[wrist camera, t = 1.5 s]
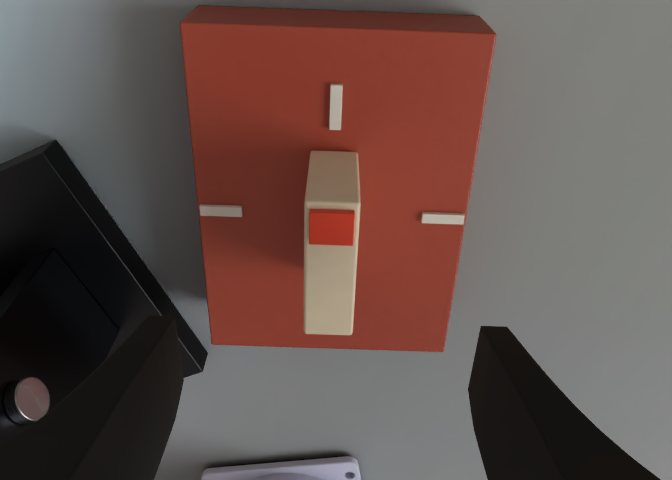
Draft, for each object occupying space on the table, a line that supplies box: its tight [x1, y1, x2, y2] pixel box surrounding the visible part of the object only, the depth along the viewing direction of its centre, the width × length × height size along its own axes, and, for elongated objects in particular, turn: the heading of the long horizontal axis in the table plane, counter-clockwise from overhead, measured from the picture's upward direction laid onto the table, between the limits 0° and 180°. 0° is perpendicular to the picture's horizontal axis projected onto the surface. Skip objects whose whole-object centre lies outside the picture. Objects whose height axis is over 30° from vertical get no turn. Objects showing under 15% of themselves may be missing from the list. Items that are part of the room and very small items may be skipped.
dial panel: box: [180, 6, 496, 352], centre depth 21 cm, size 12×9×3 cm
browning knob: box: [304, 151, 361, 335], centre depth 19 cm, size 5×2×4 cm, turn 178°
